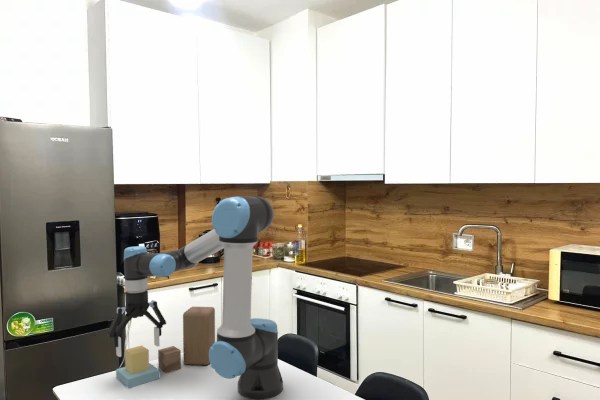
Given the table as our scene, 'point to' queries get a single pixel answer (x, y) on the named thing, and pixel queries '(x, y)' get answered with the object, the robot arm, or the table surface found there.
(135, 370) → the brick
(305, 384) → the table surface
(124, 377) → the base brick
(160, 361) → the brick
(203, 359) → the wooden block
